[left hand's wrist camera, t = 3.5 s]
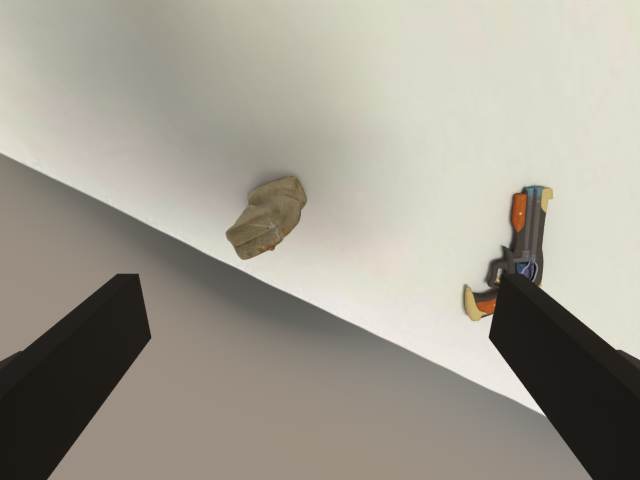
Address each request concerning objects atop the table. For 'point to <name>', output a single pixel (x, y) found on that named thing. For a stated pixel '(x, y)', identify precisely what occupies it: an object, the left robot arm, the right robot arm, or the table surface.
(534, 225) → the toy gun
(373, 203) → the table surface
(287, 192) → the sculpture
